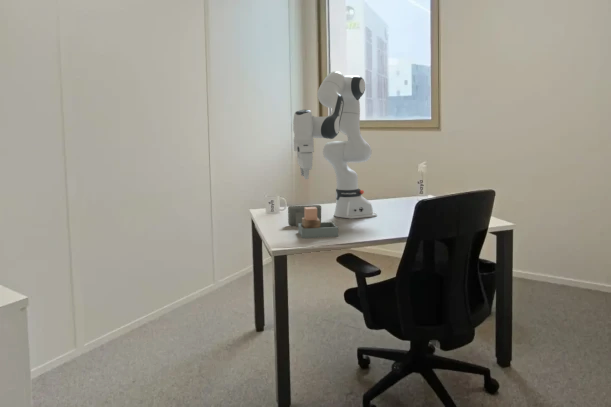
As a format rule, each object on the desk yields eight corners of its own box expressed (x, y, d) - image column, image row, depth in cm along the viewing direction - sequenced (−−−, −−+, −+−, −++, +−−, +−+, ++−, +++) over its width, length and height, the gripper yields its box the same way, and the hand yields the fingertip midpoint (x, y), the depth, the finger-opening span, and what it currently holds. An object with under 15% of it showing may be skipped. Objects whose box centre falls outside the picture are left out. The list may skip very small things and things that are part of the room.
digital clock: (322, 224, 278) (322, 203, 276) (320, 228, 269) (319, 206, 267) (289, 224, 280) (289, 203, 279) (286, 228, 272) (285, 206, 270)
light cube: (315, 217, 255) (315, 206, 254) (317, 219, 250) (317, 208, 249) (304, 218, 254) (304, 207, 253) (306, 220, 249) (305, 209, 248)
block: (317, 232, 257) (317, 217, 256) (320, 236, 250) (320, 220, 248) (302, 232, 256) (301, 217, 255) (304, 236, 249) (304, 221, 247)
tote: (333, 232, 260) (332, 221, 260) (338, 238, 249) (338, 227, 248) (298, 234, 258) (298, 223, 257) (302, 240, 247) (301, 229, 246)
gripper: (293, 145, 264) (294, 174, 266) (300, 149, 244) (301, 181, 247) (307, 144, 265) (308, 173, 267) (314, 148, 245) (315, 180, 247)
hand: (304, 177), depth 257 cm, fingers open, 8 cm apart
